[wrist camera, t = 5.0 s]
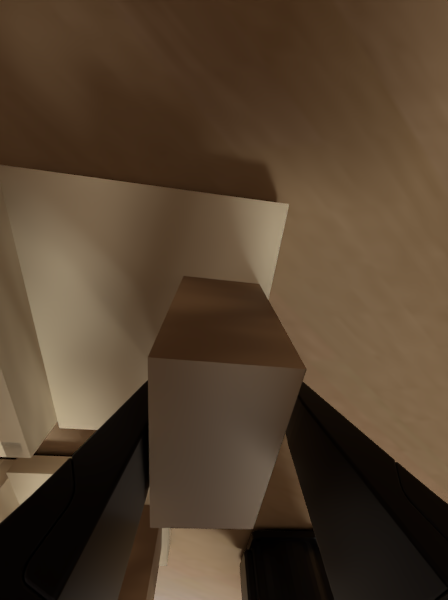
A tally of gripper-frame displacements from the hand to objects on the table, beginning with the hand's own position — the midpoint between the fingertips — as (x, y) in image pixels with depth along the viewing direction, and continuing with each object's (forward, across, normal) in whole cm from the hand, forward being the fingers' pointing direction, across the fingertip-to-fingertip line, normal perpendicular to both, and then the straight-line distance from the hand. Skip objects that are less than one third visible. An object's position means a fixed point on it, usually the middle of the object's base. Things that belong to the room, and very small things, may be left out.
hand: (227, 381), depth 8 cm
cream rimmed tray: (+4, +8, 0) cm, 9 cm away
